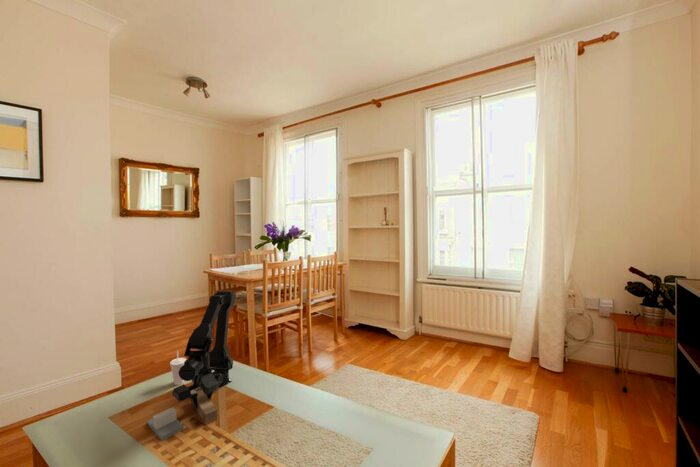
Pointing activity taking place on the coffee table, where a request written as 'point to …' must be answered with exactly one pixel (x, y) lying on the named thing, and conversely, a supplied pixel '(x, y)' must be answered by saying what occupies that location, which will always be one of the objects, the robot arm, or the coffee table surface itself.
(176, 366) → the smoothie
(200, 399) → the walnut bar
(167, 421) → the stand
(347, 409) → the coffee table surface
